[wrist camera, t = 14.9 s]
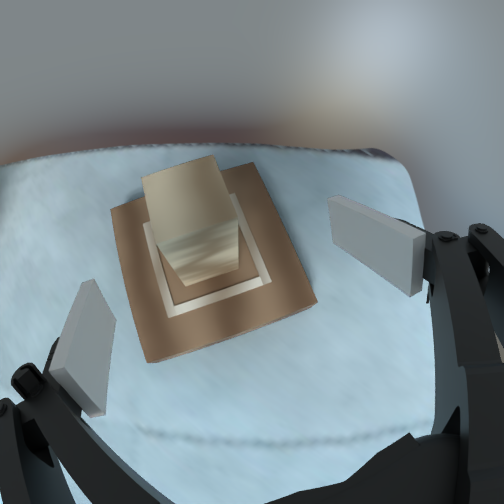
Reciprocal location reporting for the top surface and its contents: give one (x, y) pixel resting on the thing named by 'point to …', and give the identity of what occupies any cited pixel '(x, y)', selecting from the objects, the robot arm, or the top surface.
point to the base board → (214, 289)
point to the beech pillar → (193, 219)
